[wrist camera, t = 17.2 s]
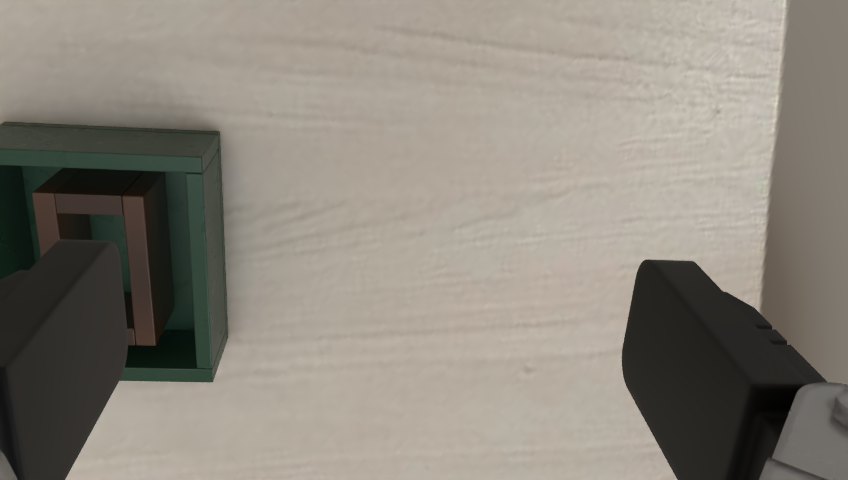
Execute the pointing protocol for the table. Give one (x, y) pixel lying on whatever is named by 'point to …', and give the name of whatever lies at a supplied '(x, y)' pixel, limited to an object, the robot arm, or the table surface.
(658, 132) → the table surface
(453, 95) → the table surface
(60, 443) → the robot arm
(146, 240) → the frame
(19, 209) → the holder
